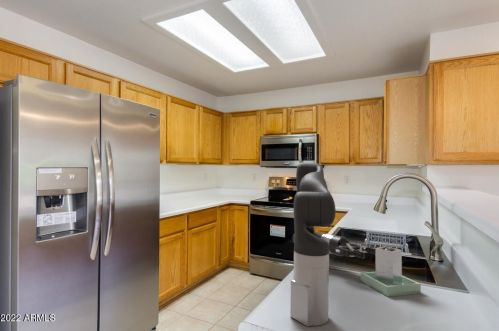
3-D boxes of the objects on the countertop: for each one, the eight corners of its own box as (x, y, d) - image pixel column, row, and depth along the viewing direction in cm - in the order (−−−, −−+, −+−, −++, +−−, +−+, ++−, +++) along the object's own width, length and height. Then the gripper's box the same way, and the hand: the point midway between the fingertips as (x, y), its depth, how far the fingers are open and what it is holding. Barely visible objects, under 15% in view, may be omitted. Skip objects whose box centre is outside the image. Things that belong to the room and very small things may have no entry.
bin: (387, 296, 86) (387, 287, 86) (360, 281, 99) (360, 272, 99) (420, 293, 89) (420, 283, 89) (390, 278, 102) (390, 270, 102)
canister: (393, 289, 90) (393, 252, 90) (375, 283, 95) (375, 248, 95) (401, 285, 93) (401, 249, 94) (384, 279, 98) (384, 246, 99)
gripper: (322, 237, 109) (359, 246, 96) (344, 233, 117) (381, 241, 104) (322, 256, 108) (359, 268, 95) (343, 251, 117) (381, 261, 104)
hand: (370, 253), depth 100 cm, fingers open, 8 cm apart
